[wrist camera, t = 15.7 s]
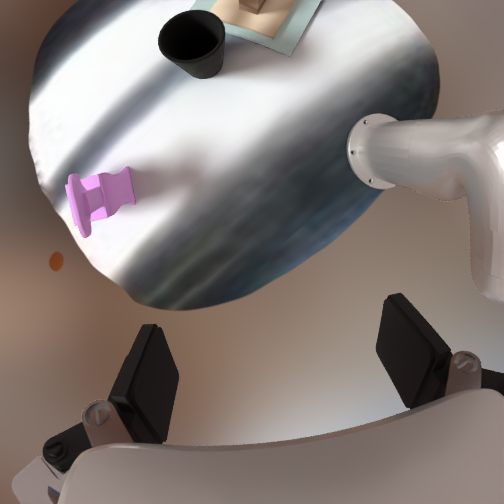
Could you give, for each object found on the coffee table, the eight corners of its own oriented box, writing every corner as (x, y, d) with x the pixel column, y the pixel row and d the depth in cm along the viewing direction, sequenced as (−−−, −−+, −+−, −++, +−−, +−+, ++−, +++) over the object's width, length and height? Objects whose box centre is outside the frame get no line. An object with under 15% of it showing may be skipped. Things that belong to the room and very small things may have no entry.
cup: (210, 34, 31) (199, -1, 20) (240, 65, 34) (239, 36, 23) (170, 62, 33) (145, 36, 22) (199, 94, 35) (182, 75, 24)
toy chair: (84, 173, 39) (28, 190, 25) (127, 160, 39) (77, 170, 25) (94, 219, 42) (45, 251, 28) (137, 209, 42) (93, 240, 28)
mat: (321, 0, 29) (321, -2, 28) (289, 56, 33) (290, 55, 33) (222, -33, 26) (222, -34, 25) (183, 22, 30) (183, 20, 30)
